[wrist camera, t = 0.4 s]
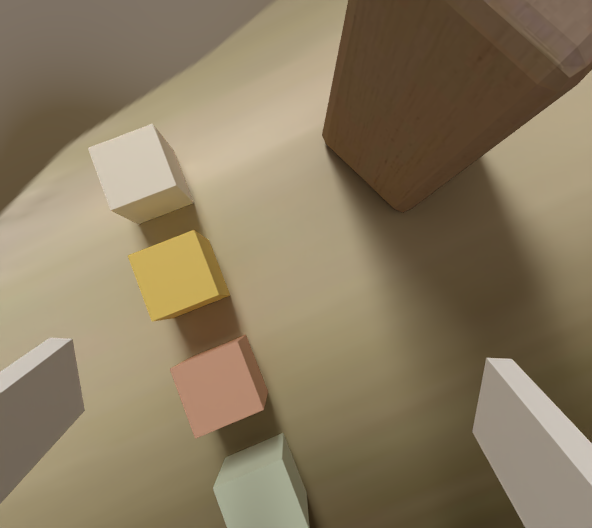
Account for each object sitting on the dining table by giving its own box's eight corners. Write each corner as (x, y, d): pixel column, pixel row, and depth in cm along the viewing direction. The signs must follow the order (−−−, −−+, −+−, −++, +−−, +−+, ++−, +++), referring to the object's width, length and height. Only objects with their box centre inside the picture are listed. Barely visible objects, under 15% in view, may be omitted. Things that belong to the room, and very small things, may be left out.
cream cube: (194, 203, 32) (176, 185, 27) (138, 224, 32) (110, 210, 27) (174, 150, 32) (152, 123, 27) (119, 171, 32) (87, 147, 27)
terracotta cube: (268, 391, 30) (263, 409, 25) (210, 415, 30) (195, 438, 25) (245, 334, 31) (237, 341, 26) (189, 357, 31) (169, 368, 26)
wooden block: (477, 140, 33) (768, -107, 13) (399, 219, 32) (580, 87, 12) (394, 64, 33) (550, -287, 13) (316, 140, 32) (358, -113, 13)
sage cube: (306, 492, 30) (309, 531, 25) (248, 517, 30) (239, 561, 25) (283, 432, 30) (281, 458, 25) (225, 456, 30) (212, 488, 25)
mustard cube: (230, 295, 31) (219, 294, 26) (174, 317, 31) (151, 321, 26) (209, 240, 32) (194, 229, 27) (153, 262, 31) (127, 255, 26)
